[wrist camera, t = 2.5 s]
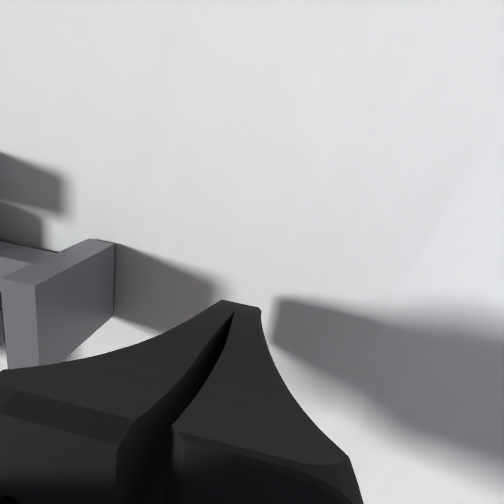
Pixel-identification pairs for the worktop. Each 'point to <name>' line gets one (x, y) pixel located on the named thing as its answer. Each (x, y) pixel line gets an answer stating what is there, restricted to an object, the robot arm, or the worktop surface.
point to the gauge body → (1, 329)
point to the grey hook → (54, 299)
